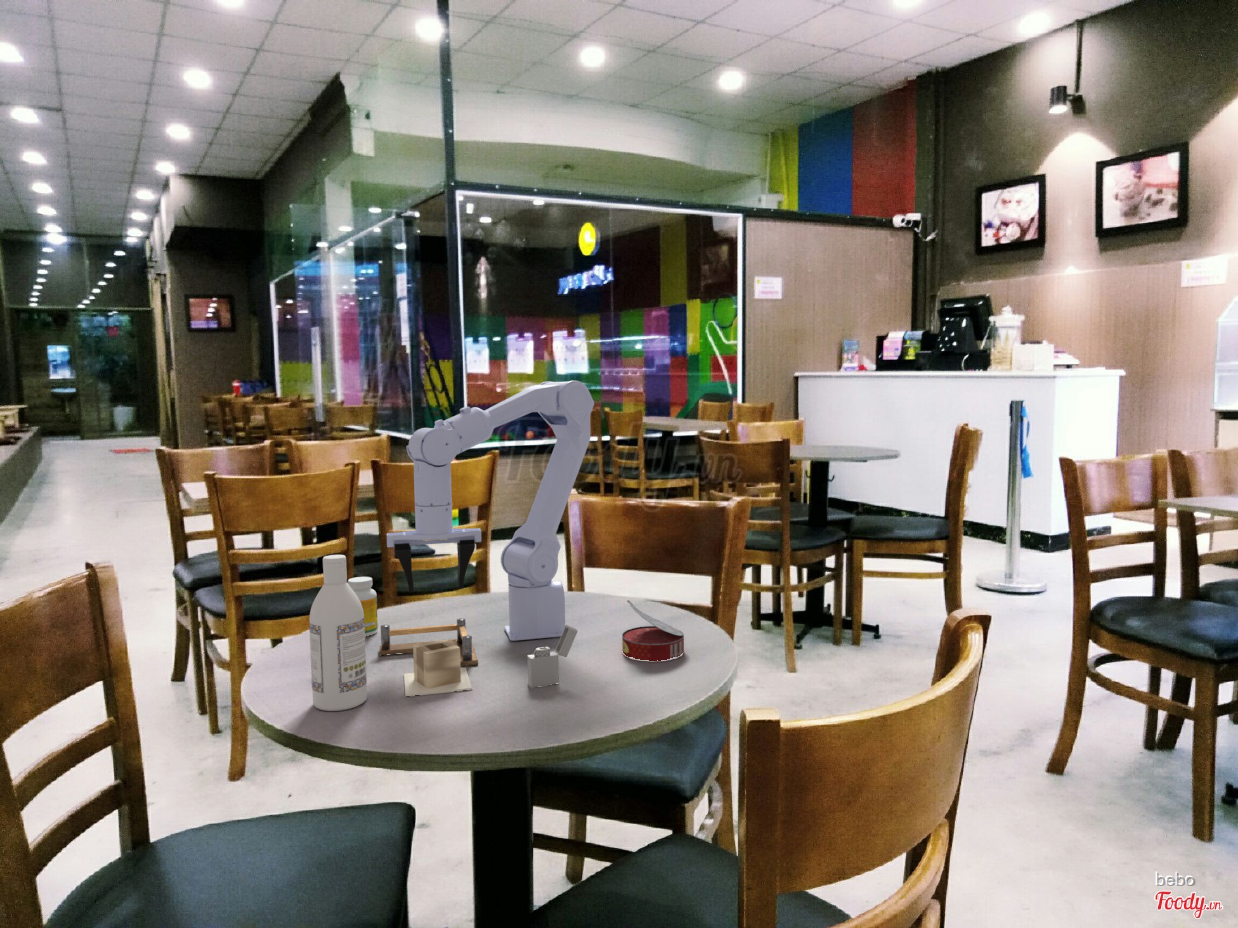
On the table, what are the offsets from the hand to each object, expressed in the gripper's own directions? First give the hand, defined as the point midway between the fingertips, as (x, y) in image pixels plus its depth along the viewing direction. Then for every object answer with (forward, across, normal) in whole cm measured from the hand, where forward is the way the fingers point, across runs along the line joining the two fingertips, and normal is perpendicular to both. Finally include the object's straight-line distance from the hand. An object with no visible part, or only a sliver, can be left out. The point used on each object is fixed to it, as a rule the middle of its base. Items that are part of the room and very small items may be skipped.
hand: (436, 588), depth 133 cm
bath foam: (+11, +14, +18) cm, 25 cm away
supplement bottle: (+11, +12, -15) cm, 22 cm away
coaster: (+10, +1, +14) cm, 17 cm away
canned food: (+11, -33, +10) cm, 36 cm away
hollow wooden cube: (+10, +1, +14) cm, 17 cm away
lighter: (+11, -15, +19) cm, 26 cm away
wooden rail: (+10, +2, +2) cm, 11 cm away
